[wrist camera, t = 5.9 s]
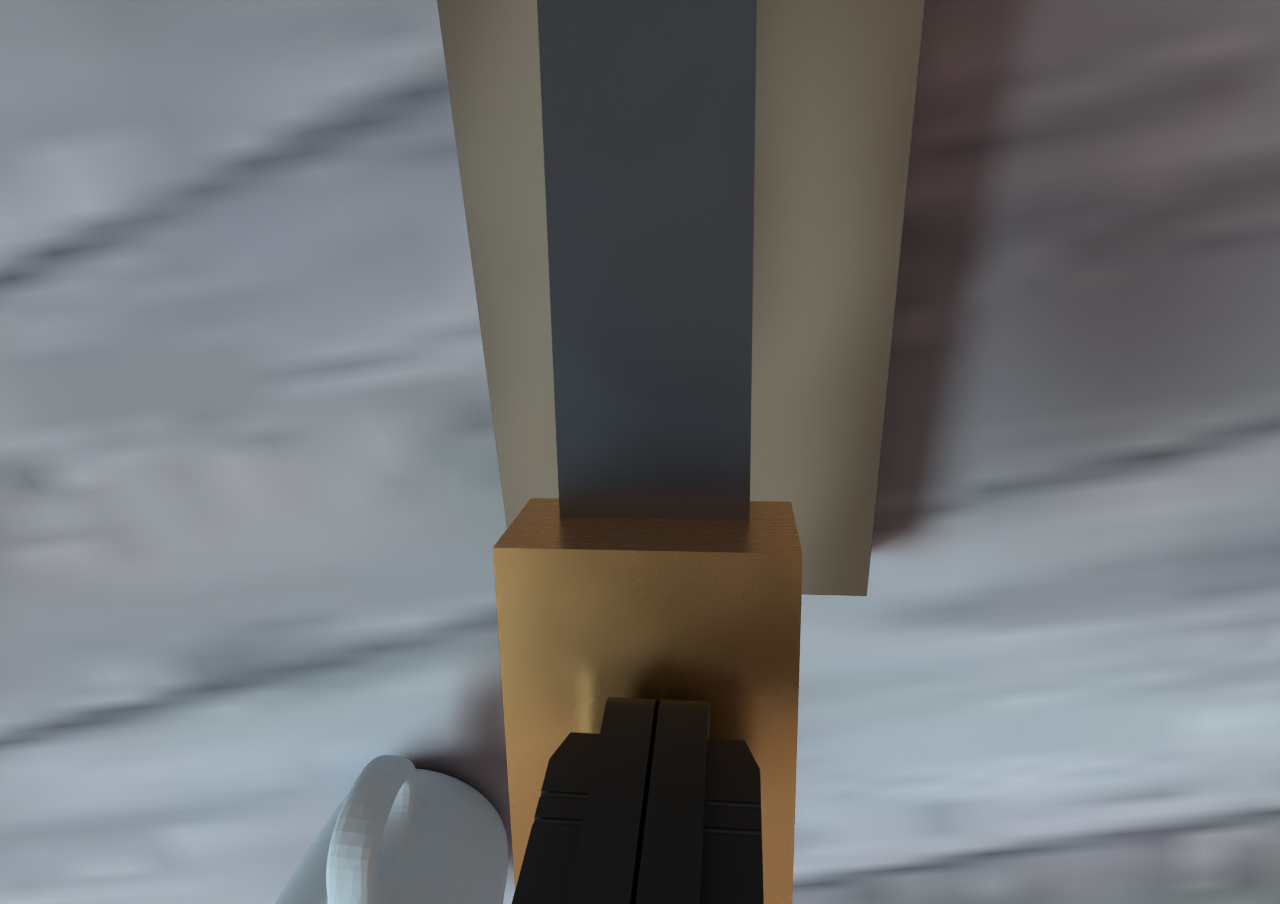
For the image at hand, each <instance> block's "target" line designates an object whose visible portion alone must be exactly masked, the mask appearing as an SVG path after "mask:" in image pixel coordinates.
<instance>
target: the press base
mask: <svg viewBox="0 0 1280 904" xmlns="http://www.w3.org/2000/svg"><path fill="white" fill-rule="evenodd" d="M437 2H438V10H439V17H440V25H441V32H442V40H443V48H444V55H445V63H446V70H447V78H448V85H449V93H450V100H451V108H452V116H453V123H454V131H455V138H456V146H457V153H458V161H459V168H460V176H461V184H462V191H463V199H464V206H465V214H466V221H467V229H468V236H469V244H470V252H471V259H472V267H473V274H474V282H475V289H476V297H477V304H478V312H479V320H480V327H481V335H482V342H483V350H484V357H485V365H486V372H487V380H488V388H489V395H490V403H491V410H492V418H493V425H494V433H495V440H496V448H497V456H498V463H499V471H500V478H501V486H502V493H503V501H504V509H505V516H506V524H507V529H508V527H509V526H510V525H511V523H512V522H513V521H514V520H515V518H516V517H517V516H518V514H519V513H520V512H521V510H522V509H523V508H524V506H525V505H526V504H527V502H528V501H529V500H530V498H557V499H559V491H558V468H557V445H556V423H555V400H554V377H553V354H552V331H551V308H550V286H549V263H548V240H547V217H546V194H545V171H544V149H543V126H542V103H541V80H540V57H539V35H538V12H537V0H437ZM924 6H925V0H757V24H756V97H755V170H754V243H753V316H752V389H751V462H750V501H780V502H791V504H792V508H793V513H794V517H795V522H796V526H797V531H798V535H799V540H800V544H801V549H802V553H803V558H802V591H801V594H808V595H849V596H867V587H868V577H869V567H870V556H871V546H872V536H873V526H874V516H875V505H876V495H877V485H878V475H879V465H880V454H881V444H882V434H883V424H884V414H885V403H886V393H887V383H888V373H889V363H890V352H891V342H892V332H893V322H894V312H895V301H896V291H897V281H898V271H899V261H900V250H901V240H902V230H903V220H904V210H905V199H906V189H907V179H908V169H909V159H910V149H911V138H912V128H913V118H914V108H915V98H916V87H917V77H918V67H919V57H920V47H921V36H922V26H923V16H924Z"/></svg>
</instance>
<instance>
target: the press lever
mask: <svg viewBox="0 0 1280 904" xmlns="http://www.w3.org/2000/svg"><path fill="white" fill-rule="evenodd" d="M537 12H538V35H539V57H540V80H541V103H542V126H543V149H544V171H545V194H546V217H547V240H548V263H549V286H550V308H551V331H552V354H553V377H554V400H555V423H556V445H557V468H558V491H559V499H557V498H530V500H529V501H528V502H527V504H526V505H525V506H524V508H523V509H522V510H521V512H520V513H519V514H518V516H517V517H516V518H515V520H514V521H513V522H512V523H511V525H510V526H509V527H508V529H507V530H506V531H505V533H504V534H503V535H502V537H501V538H500V539H499V541H498V542H497V543H496V544H495V546H494V547H493V556H494V571H495V587H496V602H497V618H498V633H499V649H500V664H501V680H502V695H503V710H504V726H505V741H506V757H507V772H508V788H509V803H510V819H511V834H512V850H513V865H514V881H515V890H516V886H517V882H518V878H519V874H520V870H521V866H522V862H523V859H524V855H525V851H526V847H527V843H528V839H529V835H530V832H531V828H532V824H533V823H534V816H535V812H536V808H537V804H538V801H539V797H541V789H542V785H543V781H544V777H545V773H546V770H547V766H548V762H549V759H550V757H551V756H552V755H553V754H554V752H555V751H556V750H557V749H558V747H559V746H560V745H561V743H562V742H563V741H564V740H565V738H566V737H567V736H568V735H569V733H570V732H577V733H597V734H600V730H601V725H602V720H603V715H604V710H605V705H606V701H607V699H608V697H619V698H641V699H657V702H658V710H659V703H660V700H661V699H670V700H693V701H709V708H710V739H726V740H745V742H746V744H747V746H748V747H749V749H750V751H751V753H752V755H753V757H754V759H755V761H756V763H757V764H758V766H759V768H760V778H761V816H762V854H763V892H764V904H792V891H793V858H794V824H795V791H796V758H797V724H798V691H799V658H800V624H801V591H802V558H803V553H802V549H801V544H800V540H799V535H798V531H797V526H796V522H795V517H794V513H793V508H792V504H791V502H780V501H750V462H751V389H752V316H753V243H754V170H755V97H756V24H757V0H537Z"/></svg>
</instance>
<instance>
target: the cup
mask: <svg viewBox="0 0 1280 904" xmlns="http://www.w3.org/2000/svg"><path fill="white" fill-rule="evenodd" d="M507 869H508V841H507V835H506V831H505V828H504V825H503V822H502V820H501V818H500V816H499V814H498V813H497V811H496V810H495V808H494V807H493V806H492V804H491V803H490V802H489V801H488V800H487V799H486V798H485V797H484V796H483V795H482V794H481V793H479V792H478V791H477V790H475V789H474V788H472V787H471V786H470V785H468V784H466V783H464V782H462V781H460V780H458V779H456V778H454V777H451V776H448V775H446V774H443V773H439V772H435V771H430V770H424V769H416V768H415V766H414V764H413V763H412V762H411V761H410V760H409V759H407V758H404V757H400V756H388V755H384V756H379V757H377V758H375V759H374V760H372V761H371V762H370V763H369V764H368V765H367V766H366V767H365V768H364V770H363V771H362V773H361V774H360V775H359V777H358V778H357V780H356V781H355V783H354V785H353V787H352V788H351V790H350V792H349V794H348V795H347V796H346V797H345V799H344V800H343V801H342V802H341V803H340V805H339V806H338V807H337V808H336V810H335V811H334V813H333V814H332V816H331V817H330V818H329V820H328V821H327V823H326V825H325V826H324V828H323V829H322V831H321V832H320V834H319V835H318V837H317V839H316V840H315V842H314V843H313V845H312V846H311V848H310V849H309V851H308V853H307V854H306V856H305V857H304V859H303V860H302V862H301V863H300V865H299V867H298V868H297V870H296V871H295V873H294V874H293V876H292V877H291V879H290V881H289V882H288V884H287V885H286V887H285V888H284V890H283V892H282V893H281V895H280V896H279V898H278V899H277V901H276V902H275V904H503V899H504V892H505V885H506V878H507Z"/></svg>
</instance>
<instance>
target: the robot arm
mask: <svg viewBox="0 0 1280 904" xmlns="http://www.w3.org/2000/svg"><path fill="white" fill-rule="evenodd" d="M512 904H764V892H763V854H762V816H761V778H760V768H759V766H758V764H757V763H756V761H755V759H754V757H753V755H752V753H751V751H750V749H749V747H748V746H747V744H746V742H745V740H726V739H710V708H709V701H693V700H670V699H661V700H660V703H659V710H658V702H657V699H641V698H619V697H608V699H607V701H606V705H605V710H604V715H603V720H602V725H601V730H600V734H597V733H577V732H570V733H569V735H568V736H567V737H566V738H565V740H564V741H563V742H562V743H561V745H560V746H559V747H558V749H557V750H556V751H555V752H554V754H553V755H552V756H551V757H550V759H549V762H548V766H547V770H546V773H545V777H544V781H543V785H542V789H541V797H539V801H538V804H537V808H536V812H535V816H534V823H533V824H532V828H531V832H530V835H529V839H528V843H527V847H526V851H525V855H524V859H523V862H522V866H521V870H520V874H519V878H518V882H517V886H516V890H515V893H514V897H513V901H512Z"/></svg>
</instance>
